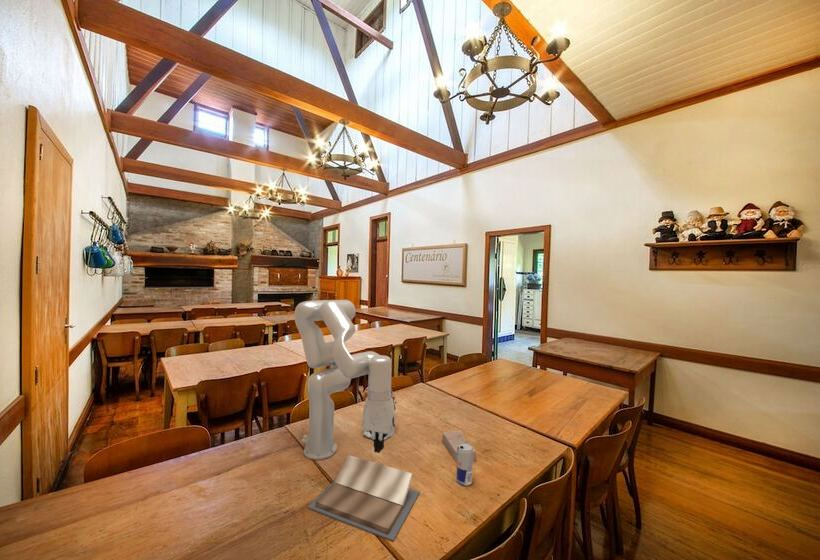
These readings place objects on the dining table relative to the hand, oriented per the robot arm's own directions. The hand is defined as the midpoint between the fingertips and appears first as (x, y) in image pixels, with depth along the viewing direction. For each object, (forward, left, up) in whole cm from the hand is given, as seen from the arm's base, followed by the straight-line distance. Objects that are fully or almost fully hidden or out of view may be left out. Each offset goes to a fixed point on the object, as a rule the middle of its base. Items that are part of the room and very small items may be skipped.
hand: (378, 450), depth 100 cm
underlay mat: (-1, -6, -13) cm, 14 cm away
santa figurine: (-17, +34, -13) cm, 40 cm away
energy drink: (+25, +16, -13) cm, 32 cm away
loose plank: (-1, -1, -9) cm, 9 cm away
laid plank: (-1, -11, -13) cm, 16 cm away
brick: (+19, +34, -13) cm, 41 cm away
